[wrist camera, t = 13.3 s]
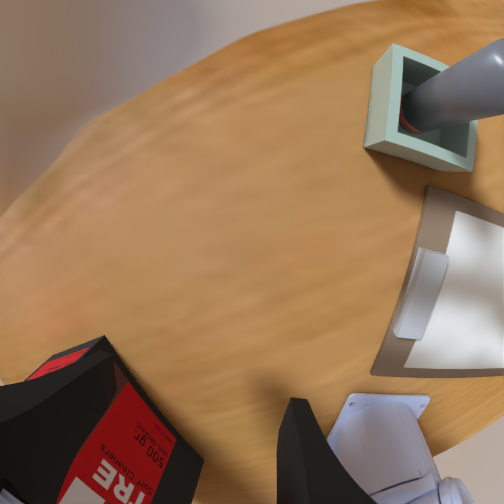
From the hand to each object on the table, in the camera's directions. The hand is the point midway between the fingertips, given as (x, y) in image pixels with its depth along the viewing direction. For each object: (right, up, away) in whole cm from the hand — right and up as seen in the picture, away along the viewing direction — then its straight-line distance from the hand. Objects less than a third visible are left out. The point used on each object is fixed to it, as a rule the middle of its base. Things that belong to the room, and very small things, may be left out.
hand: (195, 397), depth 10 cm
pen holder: (+12, +14, +5) cm, 19 cm away
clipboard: (+21, +2, +7) cm, 22 cm away
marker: (+12, +14, +4) cm, 19 cm away
